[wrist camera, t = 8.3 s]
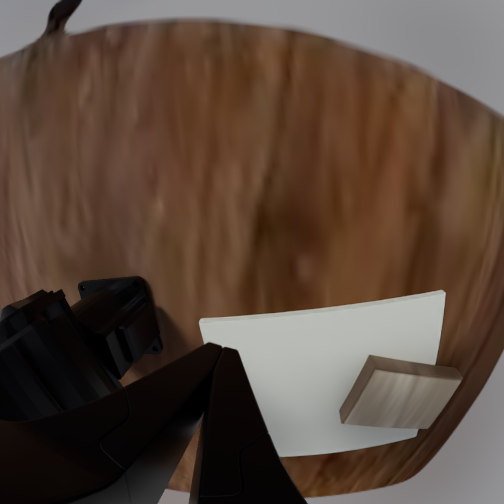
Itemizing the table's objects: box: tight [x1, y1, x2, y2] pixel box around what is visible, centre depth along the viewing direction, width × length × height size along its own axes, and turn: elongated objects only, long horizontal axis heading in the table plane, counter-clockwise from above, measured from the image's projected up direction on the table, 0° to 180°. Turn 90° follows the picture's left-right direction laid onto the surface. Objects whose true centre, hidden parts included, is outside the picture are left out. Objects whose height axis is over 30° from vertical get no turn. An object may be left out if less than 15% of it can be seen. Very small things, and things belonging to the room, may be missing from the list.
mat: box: [199, 290, 446, 457], centre depth 21 cm, size 18×16×1 cm
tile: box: [339, 355, 463, 429], centre depth 20 cm, size 2×6×9 cm
